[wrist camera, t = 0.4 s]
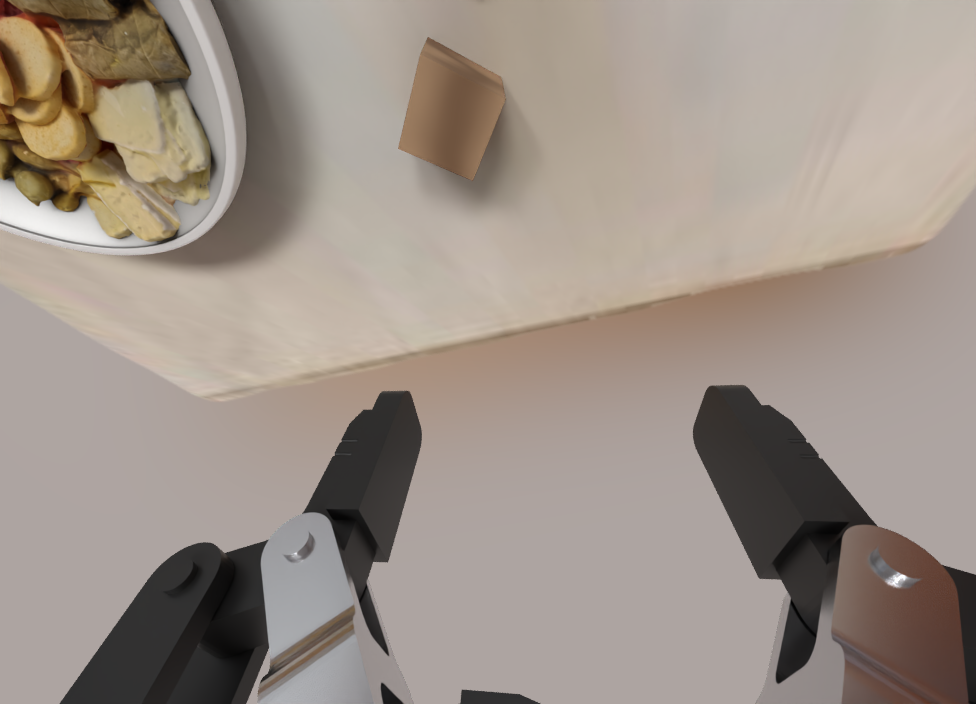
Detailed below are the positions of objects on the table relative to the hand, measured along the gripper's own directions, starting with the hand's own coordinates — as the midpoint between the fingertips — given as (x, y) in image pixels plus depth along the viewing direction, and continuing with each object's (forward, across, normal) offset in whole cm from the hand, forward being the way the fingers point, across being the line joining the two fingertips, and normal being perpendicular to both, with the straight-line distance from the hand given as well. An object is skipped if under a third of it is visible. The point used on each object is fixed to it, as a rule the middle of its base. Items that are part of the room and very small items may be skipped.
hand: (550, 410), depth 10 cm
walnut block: (+26, +6, -7) cm, 27 cm away
